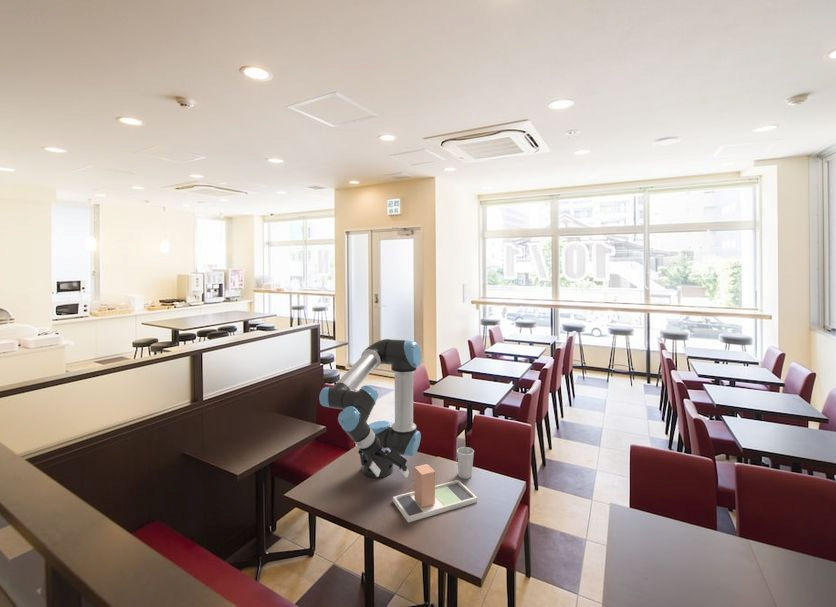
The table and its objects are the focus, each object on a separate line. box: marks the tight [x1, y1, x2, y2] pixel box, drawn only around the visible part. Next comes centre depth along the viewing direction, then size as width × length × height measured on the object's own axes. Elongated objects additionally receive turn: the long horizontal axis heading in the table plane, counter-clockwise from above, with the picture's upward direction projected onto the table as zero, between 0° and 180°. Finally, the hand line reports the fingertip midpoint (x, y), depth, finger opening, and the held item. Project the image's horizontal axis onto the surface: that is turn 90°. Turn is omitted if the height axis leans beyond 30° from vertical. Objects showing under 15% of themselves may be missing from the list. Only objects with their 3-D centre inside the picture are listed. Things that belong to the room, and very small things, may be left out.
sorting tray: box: [392, 479, 478, 523], centre depth 171 cm, size 16×32×2 cm, turn 116°
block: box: [413, 463, 436, 507], centre depth 168 cm, size 7×6×14 cm
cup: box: [456, 446, 475, 479], centre depth 192 cm, size 8×8×12 cm
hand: (392, 474), depth 159 cm, fingers open, 13 cm apart
